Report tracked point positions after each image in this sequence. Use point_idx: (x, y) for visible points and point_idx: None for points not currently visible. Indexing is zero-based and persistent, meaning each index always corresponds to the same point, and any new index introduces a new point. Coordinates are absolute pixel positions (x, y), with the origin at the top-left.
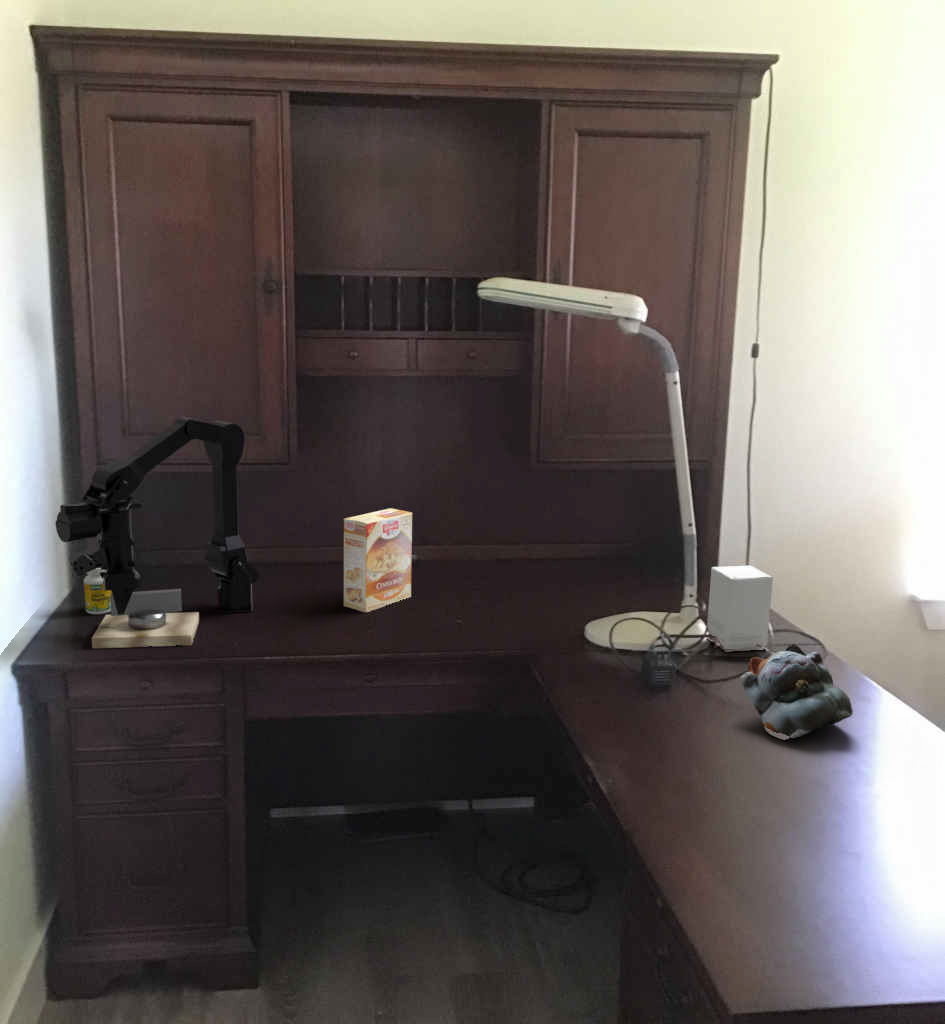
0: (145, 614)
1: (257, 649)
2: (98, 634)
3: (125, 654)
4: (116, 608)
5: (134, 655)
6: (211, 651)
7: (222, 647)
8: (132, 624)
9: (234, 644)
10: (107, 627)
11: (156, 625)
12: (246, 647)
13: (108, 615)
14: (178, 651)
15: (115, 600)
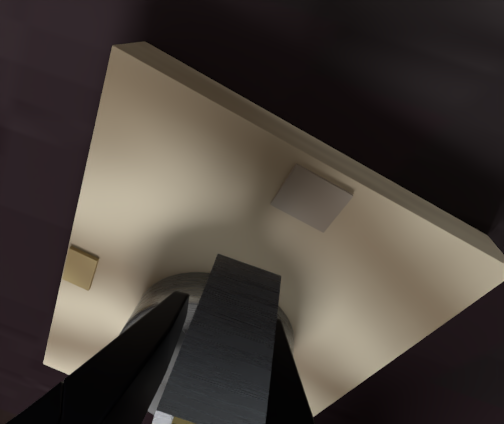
0: None
1: (4, 396)
2: (170, 109)
3: (21, 152)
4: (141, 317)
5: (3, 176)
6: (5, 341)
7: (31, 366)
8: (171, 289)
9: (48, 387)
10: (275, 196)
11: None
12: (21, 391)
13: (489, 275)
14: (20, 292)
15: (65, 381)
